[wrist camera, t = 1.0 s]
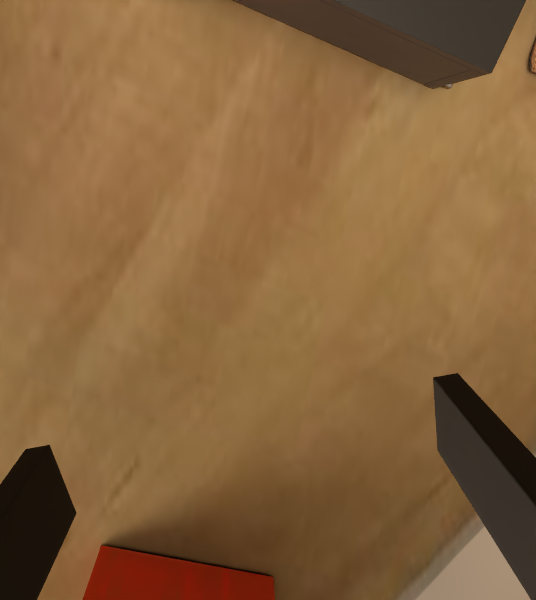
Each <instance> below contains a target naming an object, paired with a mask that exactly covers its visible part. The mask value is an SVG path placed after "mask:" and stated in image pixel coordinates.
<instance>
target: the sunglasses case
mask: <svg viewBox="0 0 536 600" xmlns="http://www.w3.org/2000/svg"><path fill="white" fill-rule="evenodd" d="M529 66H530V70H531V71H532V72H533V73H535V74H536V39H535V42H534V45H533V48H532V52H531V55H530V60H529Z"/></svg>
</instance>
